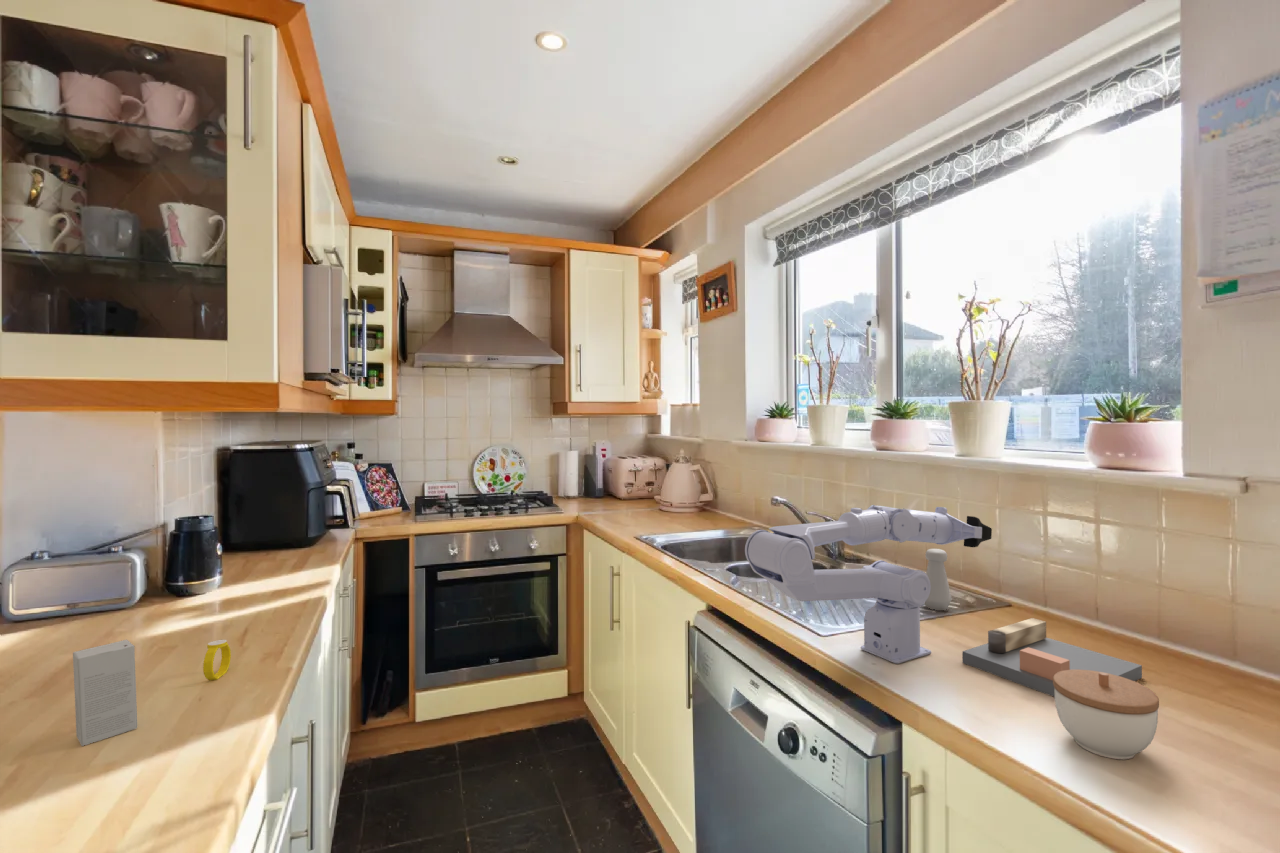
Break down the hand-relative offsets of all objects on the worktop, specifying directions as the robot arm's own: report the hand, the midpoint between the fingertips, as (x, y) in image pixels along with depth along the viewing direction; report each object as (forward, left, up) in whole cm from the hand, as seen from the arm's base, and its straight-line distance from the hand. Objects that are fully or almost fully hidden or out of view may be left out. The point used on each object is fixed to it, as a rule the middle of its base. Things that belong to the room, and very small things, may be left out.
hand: (970, 531), depth 117 cm
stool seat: (-6, -17, -20) cm, 27 cm away
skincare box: (-139, +37, -20) cm, 145 cm away
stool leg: (-4, -11, -18) cm, 21 cm away
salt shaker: (+8, +13, -20) cm, 25 cm away
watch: (-128, +52, -20) cm, 140 cm away
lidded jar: (-24, -33, -20) cm, 46 cm away
